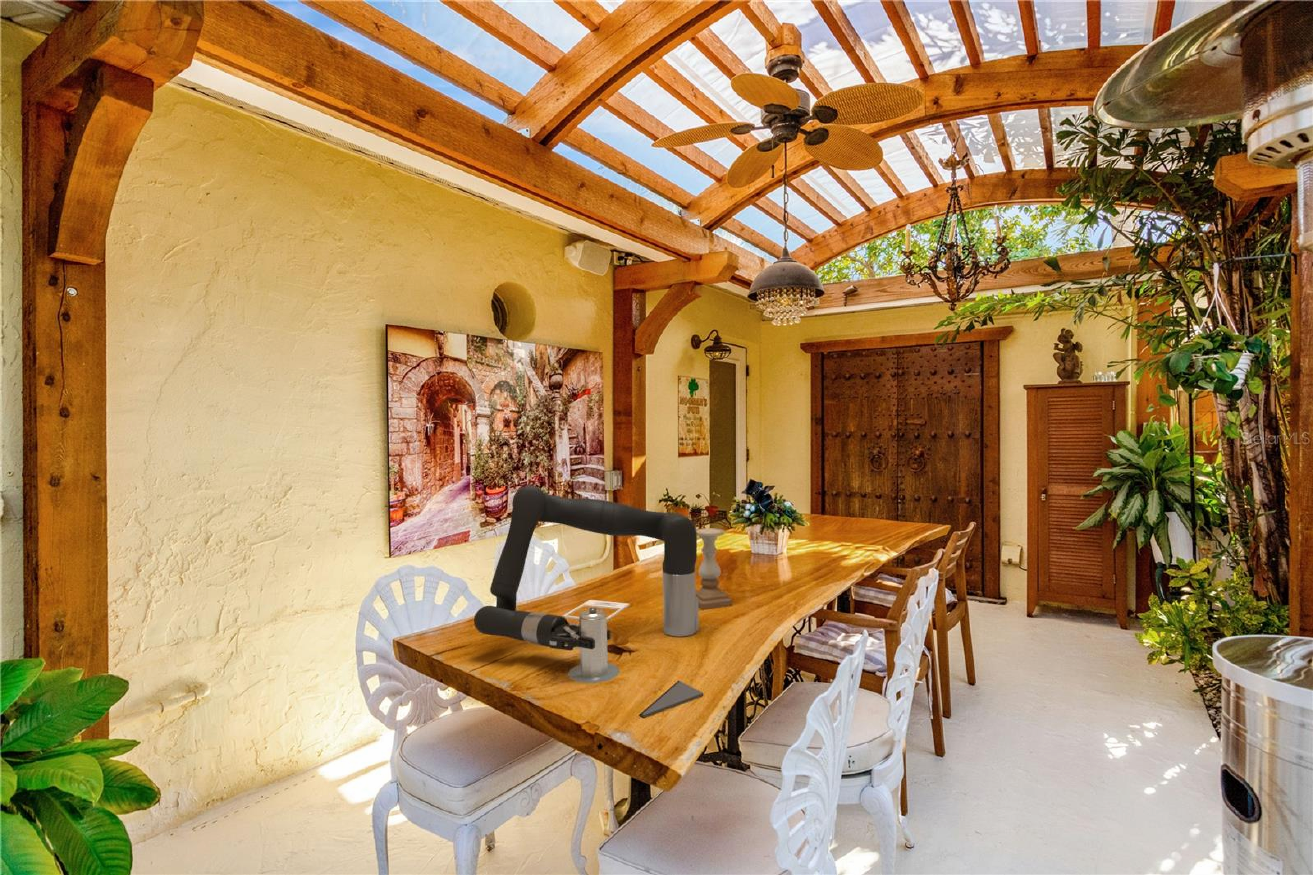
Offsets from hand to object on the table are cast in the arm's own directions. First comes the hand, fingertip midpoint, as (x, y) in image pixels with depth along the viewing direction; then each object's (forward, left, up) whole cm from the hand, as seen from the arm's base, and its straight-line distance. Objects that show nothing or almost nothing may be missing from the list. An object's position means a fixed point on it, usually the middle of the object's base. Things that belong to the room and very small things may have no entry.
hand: (601, 639), depth 142 cm
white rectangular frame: (-26, -45, -10) cm, 53 cm away
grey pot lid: (+1, -2, -9) cm, 9 cm away
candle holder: (-59, -28, -9) cm, 66 cm away
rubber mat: (-4, +14, -9) cm, 17 cm away
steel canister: (+1, -2, -8) cm, 8 cm away
